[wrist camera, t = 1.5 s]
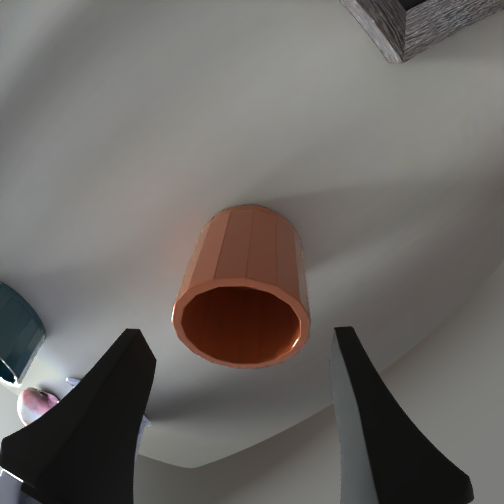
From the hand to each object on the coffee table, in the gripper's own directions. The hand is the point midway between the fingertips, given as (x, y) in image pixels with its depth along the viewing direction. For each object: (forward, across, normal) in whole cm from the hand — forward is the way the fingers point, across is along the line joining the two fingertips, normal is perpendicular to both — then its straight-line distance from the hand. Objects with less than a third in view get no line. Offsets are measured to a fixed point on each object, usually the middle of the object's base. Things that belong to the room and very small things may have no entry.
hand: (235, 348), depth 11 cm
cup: (+6, 0, 0) cm, 6 cm away
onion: (+6, +33, +24) cm, 41 cm away
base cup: (+6, +24, +6) cm, 25 cm away
